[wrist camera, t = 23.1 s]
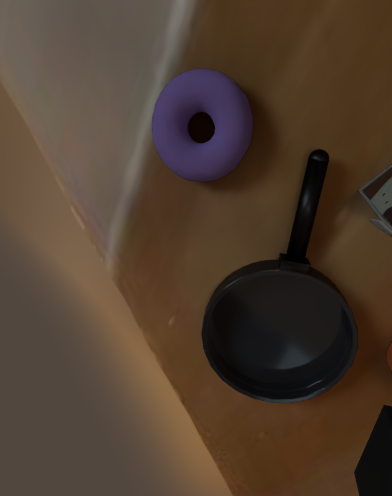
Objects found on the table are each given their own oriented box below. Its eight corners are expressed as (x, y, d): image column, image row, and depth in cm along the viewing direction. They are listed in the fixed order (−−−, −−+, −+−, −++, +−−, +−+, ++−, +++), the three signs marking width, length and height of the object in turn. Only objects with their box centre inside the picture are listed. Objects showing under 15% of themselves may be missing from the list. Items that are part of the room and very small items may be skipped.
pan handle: (303, 146, 33) (306, 147, 31) (334, 151, 33) (339, 152, 31) (277, 263, 37) (278, 270, 35) (305, 268, 37) (307, 276, 35)
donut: (149, 73, 34) (145, 64, 29) (247, 72, 34) (257, 62, 30) (156, 180, 37) (153, 187, 32) (245, 177, 37) (254, 184, 33)
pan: (216, 247, 39) (213, 257, 36) (368, 274, 37) (378, 286, 34) (197, 369, 44) (193, 385, 41) (329, 397, 42) (335, 416, 39)
